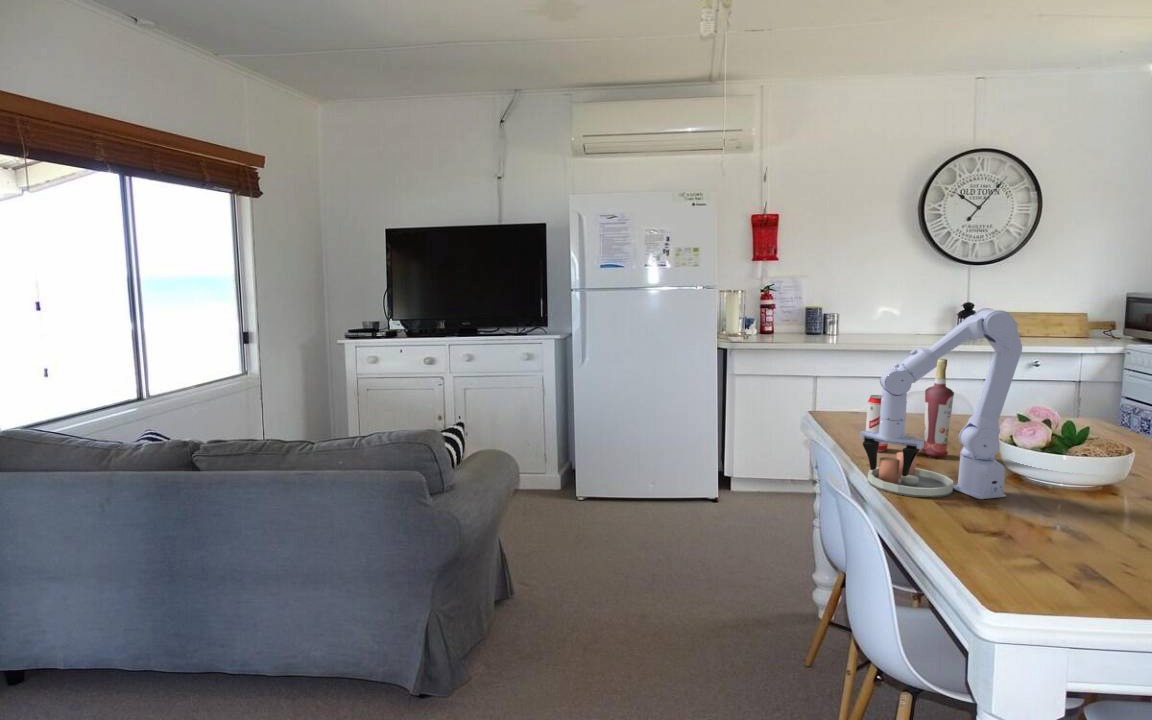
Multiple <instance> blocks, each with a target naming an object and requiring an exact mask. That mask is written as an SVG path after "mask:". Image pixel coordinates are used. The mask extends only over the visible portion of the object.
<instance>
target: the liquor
mask: <svg viewBox="0 0 1152 720" xmlns="http://www.w3.org/2000/svg"><path fill="white" fill-rule="evenodd" d="M947 366H948V359H946V358H939V359H938V362H937V367H936V371H935V372H936V374H935V379H934V384H933V386H930V387H928V388H926V389H925V390H924V431H923V432H924V433H923V440H924V448H922V449H921V451H922V453H924V455H925V456H926V455H927V457H929V456H930V457H929V458H934V457H936V458H935V459H940V458H944V457H945V456H946V455H948V454H949V452H948V450H947V449H948V443H949V442H948V440H949V432H950V431H949V430H950V424H951V417H952V410H953V403H954V395H955V392H954V391H953V390H952V389H951V388H949V387H947V379H946V375H947V374H946V370H947Z"/></svg>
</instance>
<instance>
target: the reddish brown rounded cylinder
mask: <svg viewBox="0 0 1152 720" xmlns="http://www.w3.org/2000/svg"><path fill="white" fill-rule="evenodd" d="M899 464H900V460H898V459H897V458H894V457H888V456H887V457H886V456H885V457H883V456H882V457H879V465H878V467H879V478H878V479H880V480H883V481H885V482H889V483H893V484H897V485H898V477H899Z"/></svg>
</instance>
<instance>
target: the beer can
mask: <svg viewBox="0 0 1152 720" xmlns="http://www.w3.org/2000/svg"><path fill="white" fill-rule="evenodd" d="M881 399H882V394H872V395H869V399H868V400H867V405H866V407H867V408H866V419H865V421H866V422H865V423H866V424H865V431H871V432H879V427H880V410H881ZM888 444H889V443H884V442H879V446H878V452H877V453H883V452H882V451H884V452H885V451H887V450H888V446H889V445H888Z"/></svg>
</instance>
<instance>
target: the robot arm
mask: <svg viewBox="0 0 1152 720" xmlns="http://www.w3.org/2000/svg"><path fill="white" fill-rule="evenodd" d="M1018 325H1019V323H1018V322H1017V321H1016V319H1015V318H1014V317H1013V316H1012V315H1011V314H1010V313H1009V312H1007V311H1006V310H1000V309H999V310H996V309H992V308H989V307H988V308H987V307H986V308H985V307H983V308H980V309H979V310H977V311H976V312H975V313H974V314H972V315H969V316H967V317H966V318H965V319H963V320H962V321H961V322H960V323H959V324H957V325H956V326H955V327H954V328H952V329H951V330H950V331H949V332H948V333H947V334H945V335H944V336H943V337H941V338H940V339H939V340H937V341H936V342H935V343H934V344H932V345H931V346H930V347H928V348H923V347H922V348H918V349H917V350H916V349H912V350H911V351H909V354H910V355H909V356H907V357H906V358H905V359H903V360H902V361H901V362H899V363H897V362H896V363H894V365H893V367H894V368H889V369H886V370H885V371H884V372H883V373H882V375H881V377H880V378H879V383H880V386H881V388H882V389H881V390H882V392H881V395H882V399H881V410H880V427H879V432H871V431H866V430H861V431H860V432H859V433H860V435H859V439H860V440H863V441H862V447H863V448H864V450H865V452H866V456H867V459H868V462H869V463H868V464H869V467H870V468H869V470H875V469H876V467H878V466H877V464H878V463H877V462H878V453H879V452H878V446H879V442H884V443H888V444H890V445H895V446H896V445H897V446H903V447H904V448H902V452H903V471H902V476H907V475H908V473H909V469H910V466H911V464H912V462H913V460H914V458H915V456H916V457H917V455H918V453H919V451H920V450H922V449H923V448H924V439H920V438H915V437H911V436H907V435H905V430H906V417H907V402H908V401H907V397H908V396H907V395H908V394H907V393H908V392H909V391H911V388H912V384H915V383H916V382H917V381H919V380H920V379H922V378H923V377H925V376H926V375H927V374H929V373H930V372H932V371H933V370H934V369H935V368H936V369H937V362H938V359H942V357H944V356H945V355H946V354H948V353H950V352H952V351H953V350H954V349H955V348H957V347H959V346H960V345H962V344H963V343H964V342H966V341H968V340H976V339H986V340H987V342H988V343H989V345H990V346H991V347H992V349H993V350H994V353H993V356H992V360H991V362H990V366H989V368H988V371H987V374H986V378H985V380H984V384H983V387H982V390H981V392H980V396H979V398H978V402H977V404H976V407H975V411H974V413H973V414H972V415H971V416H970V417H969V418H968V421H967V423H966V424H965V426H964V427H963V428H961V430H960V431H959V434H958V441H959V444H960V445H961V446H962V449H961V451H960V454H959V465H958V466H959V467H958V477H957V478H958V479H957V484H953V490H954V491H958V492H959V493H963V494H966V495H967V496H970V497H972V498H975V499H978V500H984V499H987V500H988V499H995V498H1005V497H1007V495H1006V494H1005V493H1004V491H1005V481H1006V480H1005V477H1006V469H1005V466H1004V465H1003V464H1002V463H1000V462H998V461H997V460H996V455H997V453H998V451H999V450H1000V440H999V436H1000V432H1001V429H1000V428H1001V427H1000V424H999V420H1000V418H1001V417H1000V416H1001V414H1002V411H1003V408H1004V405H1005V402H1006V399H1007V396H1008V395H1009V394H1008V393H1009V390H1010V387H1011V384H1012V382H1013V378H1014V375H1015V373H1016V370H1017V366H1018V364H1019V361H1020V358H1021V355H1022V352H1023V343H1022V341H1021V337H1020V333H1019V330H1018V329H1019V328H1018V327H1019V326H1018Z"/></svg>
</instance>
